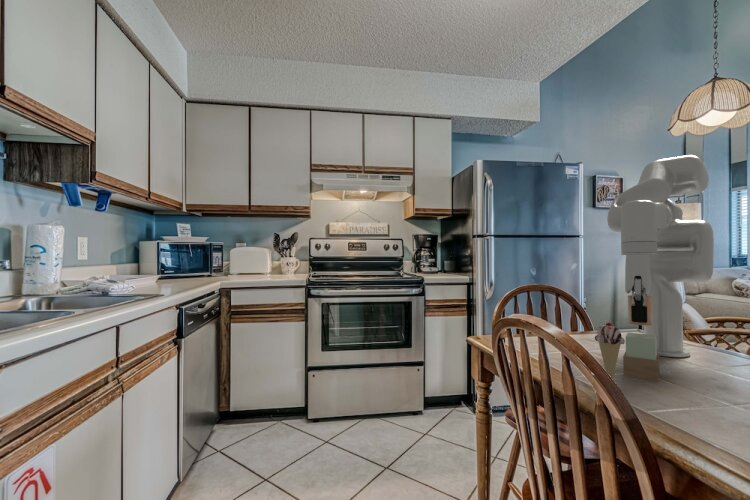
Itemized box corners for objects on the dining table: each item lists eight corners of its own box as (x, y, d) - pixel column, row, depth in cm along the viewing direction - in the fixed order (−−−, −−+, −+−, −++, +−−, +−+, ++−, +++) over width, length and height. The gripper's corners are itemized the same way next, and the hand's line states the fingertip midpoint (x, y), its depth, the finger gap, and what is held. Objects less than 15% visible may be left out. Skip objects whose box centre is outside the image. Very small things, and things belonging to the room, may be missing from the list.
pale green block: (628, 351, 97) (627, 332, 98) (656, 355, 94) (656, 335, 94) (626, 356, 93) (625, 336, 93) (655, 360, 89) (655, 339, 89)
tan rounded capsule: (629, 321, 97) (628, 294, 97) (652, 323, 94) (652, 295, 94) (627, 323, 93) (626, 296, 93) (651, 326, 90) (651, 297, 90)
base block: (626, 369, 98) (626, 350, 98) (659, 374, 94) (659, 354, 94) (623, 376, 93) (623, 356, 93) (658, 381, 88) (658, 361, 88)
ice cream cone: (630, 393, 81) (628, 324, 81) (601, 391, 82) (600, 324, 82) (618, 384, 86) (617, 320, 87) (591, 383, 87) (590, 319, 88)
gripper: (624, 250, 103) (625, 315, 102) (617, 248, 90) (618, 323, 89) (658, 249, 98) (659, 318, 98) (656, 248, 85) (657, 327, 84)
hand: (640, 319), depth 93 cm, fingers closed on tan rounded capsule, 5 cm apart
